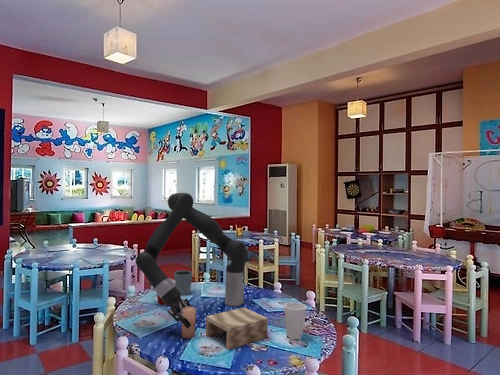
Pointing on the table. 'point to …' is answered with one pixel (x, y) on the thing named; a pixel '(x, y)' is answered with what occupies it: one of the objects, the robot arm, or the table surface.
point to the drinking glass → (183, 281)
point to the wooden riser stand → (238, 326)
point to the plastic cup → (160, 298)
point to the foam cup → (295, 319)
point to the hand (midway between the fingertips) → (192, 324)
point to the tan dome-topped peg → (190, 316)
